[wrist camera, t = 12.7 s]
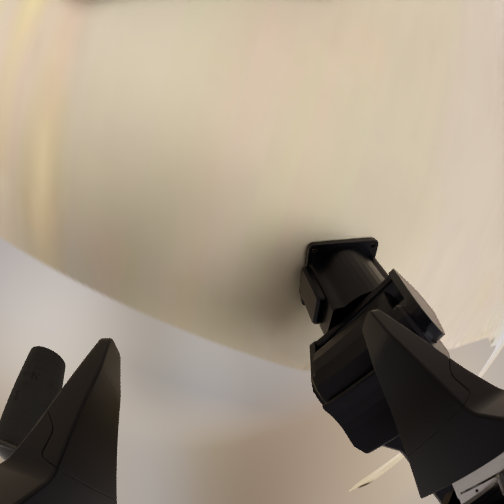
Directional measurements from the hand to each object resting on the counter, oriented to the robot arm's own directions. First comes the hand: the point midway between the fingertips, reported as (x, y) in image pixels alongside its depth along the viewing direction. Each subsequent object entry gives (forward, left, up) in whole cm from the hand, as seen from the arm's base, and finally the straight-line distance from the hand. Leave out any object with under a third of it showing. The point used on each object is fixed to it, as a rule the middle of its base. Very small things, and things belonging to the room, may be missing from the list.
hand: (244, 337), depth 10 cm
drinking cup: (+22, +18, -13) cm, 31 cm away
